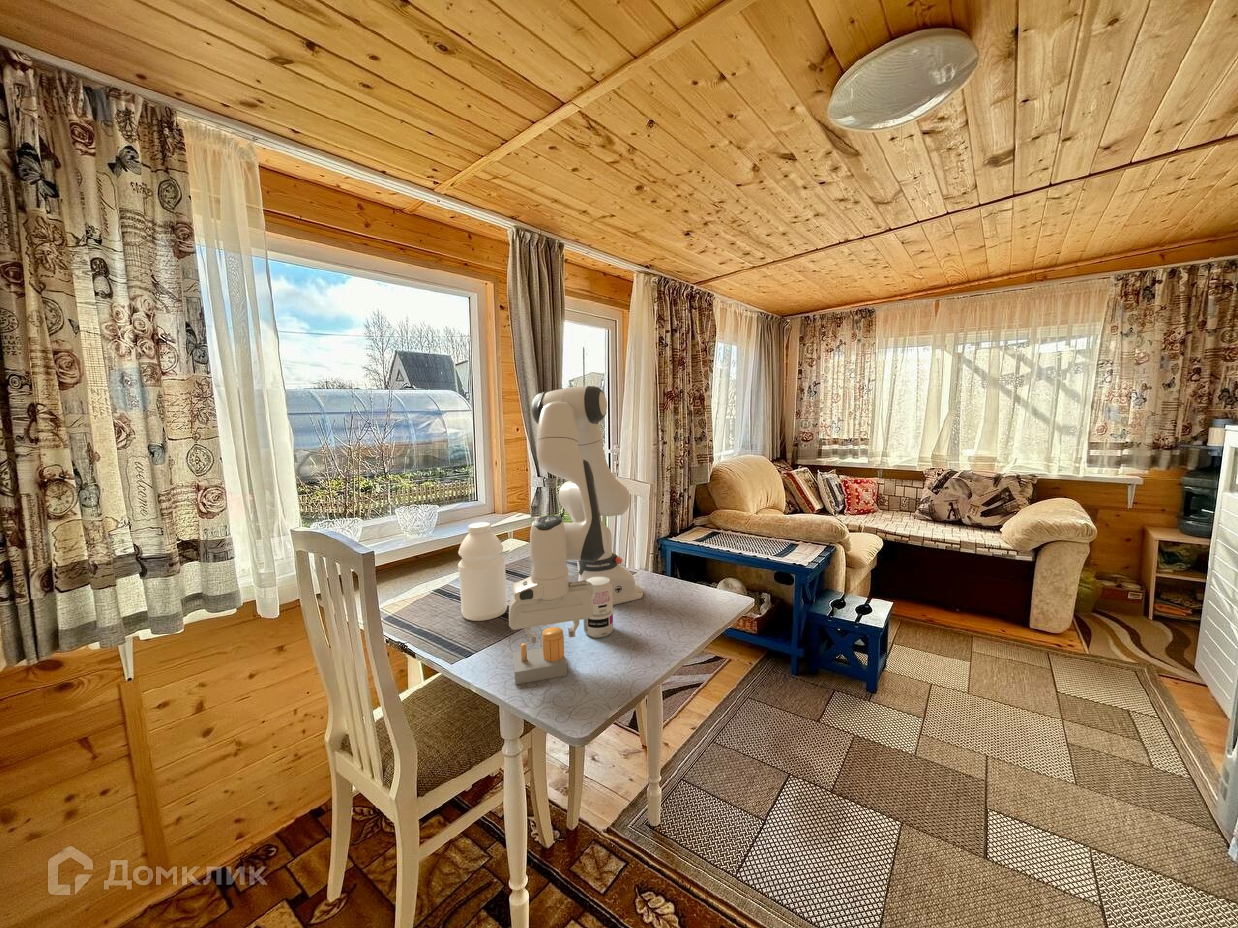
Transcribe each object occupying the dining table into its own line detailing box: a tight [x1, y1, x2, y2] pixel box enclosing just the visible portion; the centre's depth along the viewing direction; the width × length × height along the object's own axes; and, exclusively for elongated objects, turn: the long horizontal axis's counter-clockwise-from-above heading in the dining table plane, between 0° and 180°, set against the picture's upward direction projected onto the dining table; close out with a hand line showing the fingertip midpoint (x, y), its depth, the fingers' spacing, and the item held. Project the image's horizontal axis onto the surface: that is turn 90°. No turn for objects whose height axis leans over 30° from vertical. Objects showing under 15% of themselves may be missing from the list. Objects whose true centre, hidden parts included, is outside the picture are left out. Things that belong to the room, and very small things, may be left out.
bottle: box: [457, 521, 509, 622], centre depth 143 cm, size 14×14×28 cm
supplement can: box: [583, 576, 614, 639], centre depth 129 cm, size 8×8×15 cm
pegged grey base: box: [512, 642, 568, 685], centre depth 112 cm, size 12×9×7 cm
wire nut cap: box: [541, 626, 565, 661], centre depth 112 cm, size 5×5×6 cm
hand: (552, 639), depth 112 cm, fingers open, 8 cm apart
